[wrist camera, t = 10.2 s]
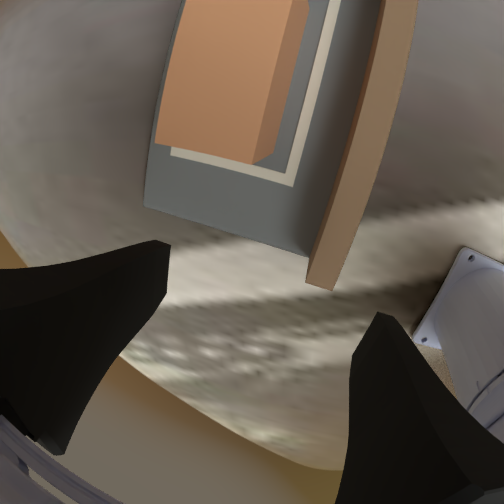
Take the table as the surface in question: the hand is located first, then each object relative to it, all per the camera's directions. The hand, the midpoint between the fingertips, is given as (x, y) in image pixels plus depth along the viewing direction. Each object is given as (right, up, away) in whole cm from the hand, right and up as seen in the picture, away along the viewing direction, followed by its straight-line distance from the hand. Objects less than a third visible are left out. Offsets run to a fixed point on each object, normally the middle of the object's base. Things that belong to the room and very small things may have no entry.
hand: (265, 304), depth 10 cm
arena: (+1, +12, +5) cm, 13 cm away
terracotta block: (0, +12, +4) cm, 13 cm away
